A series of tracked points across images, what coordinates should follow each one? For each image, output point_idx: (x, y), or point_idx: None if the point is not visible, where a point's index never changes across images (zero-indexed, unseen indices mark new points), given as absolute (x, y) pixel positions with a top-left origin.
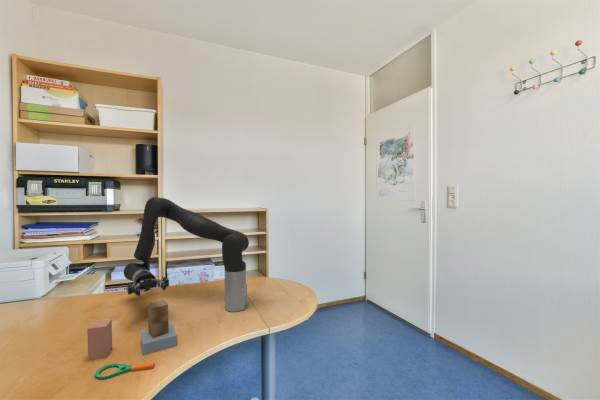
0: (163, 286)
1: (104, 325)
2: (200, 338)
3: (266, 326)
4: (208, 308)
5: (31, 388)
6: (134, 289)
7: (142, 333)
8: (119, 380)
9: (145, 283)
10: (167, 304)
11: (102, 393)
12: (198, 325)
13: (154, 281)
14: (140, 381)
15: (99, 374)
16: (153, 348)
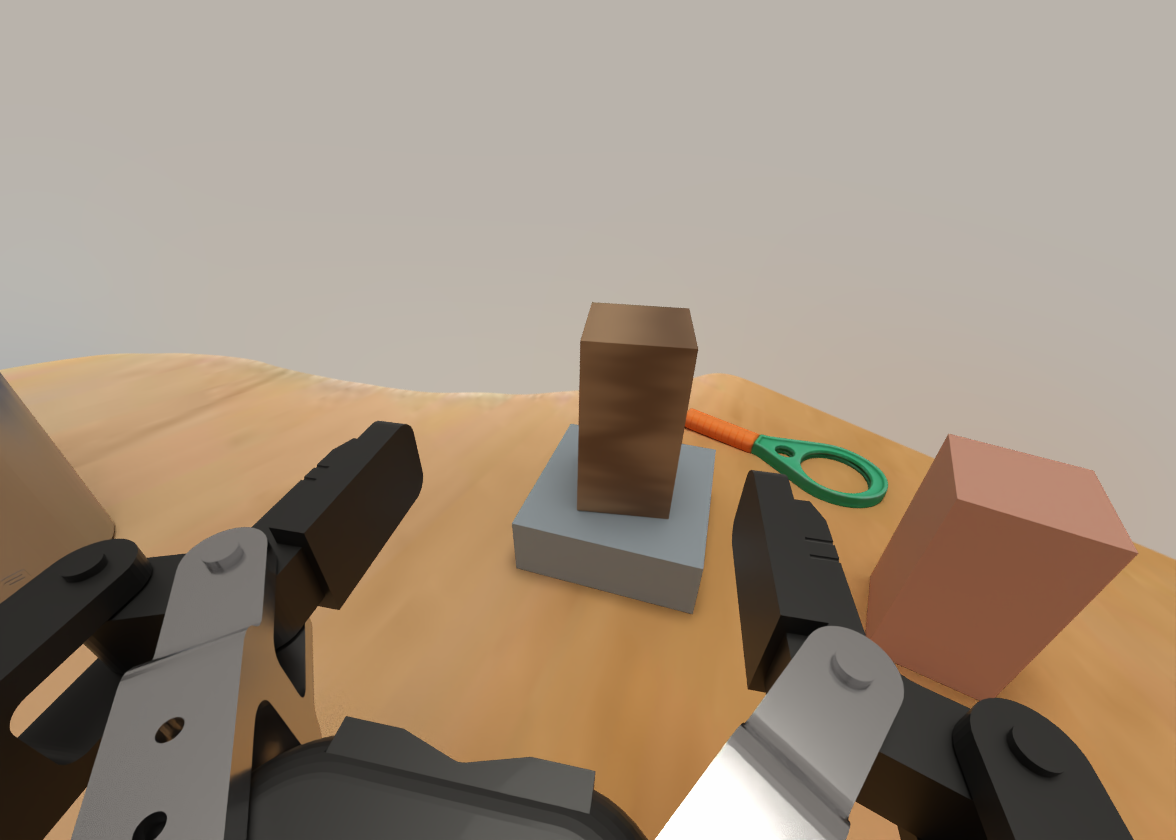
0: (413, 432)
1: (970, 447)
2: (474, 448)
3: (279, 377)
4: None
5: (1152, 569)
6: (858, 621)
7: (701, 531)
8: (790, 431)
9: (532, 835)
10: (595, 303)
11: (831, 417)
12: None
13: (215, 814)
14: (732, 401)
15: (868, 488)
16: None
